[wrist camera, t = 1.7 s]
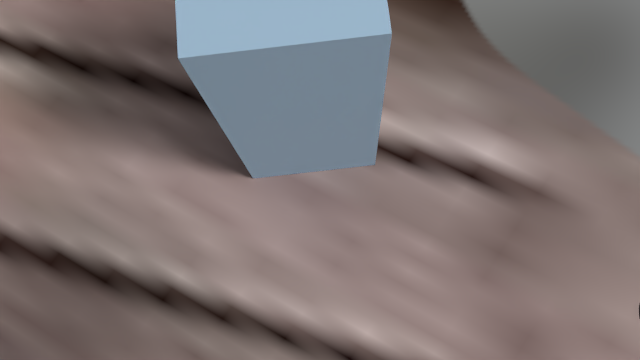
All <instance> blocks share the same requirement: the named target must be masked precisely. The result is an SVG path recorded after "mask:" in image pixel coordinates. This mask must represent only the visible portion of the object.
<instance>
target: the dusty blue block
mask: <svg viewBox="0 0 640 360" xmlns="http://www.w3.org/2000/svg"><path fill="white" fill-rule="evenodd" d="M175 6H176V28H177V50H178V59H179V61H180V63H181V64H182V66H183V67H184V69H185V71H186V72H187V74H188V75H189V77H190V79H191V80H192V82H193V83H194V85H195V87H196V88H197V90H198V91H199V93H200V95H201V96H202V98H203V99H204V101H205V102H206V104H207V106H208V107H209V109H210V110H211V112H212V114H213V115H214V117H215V118H216V120H217V122H218V123H219V125H220V126H221V128H222V130H223V131H224V133H225V134H226V136H227V138H228V139H229V141H230V142H231V144H232V146H233V147H234V149H235V150H236V152H237V154H238V155H239V157H240V158H241V160H242V162H243V163H244V165H245V166H246V168H247V170H248V171H249V173H250V174H251V176H252V178H262V177H271V176H279V175H288V174H297V173H306V172H315V171H324V170H333V169H342V168H351V167H360V166H369V165H375V161H376V153H377V145H378V137H379V129H380V122H381V114H382V106H383V98H384V90H385V83H386V75H387V67H388V59H389V51H390V44H391V36H392V31H391V24H390V17H389V10H388V4H387V0H175Z"/></svg>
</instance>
